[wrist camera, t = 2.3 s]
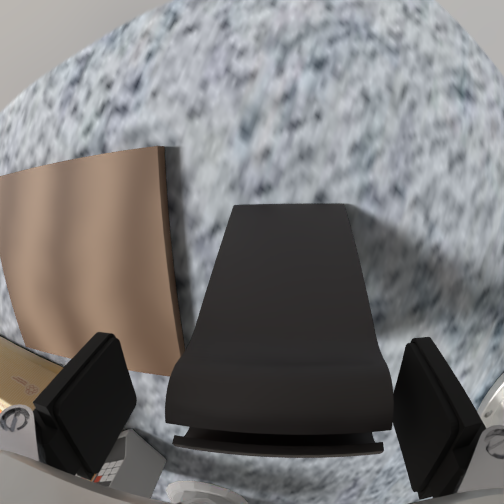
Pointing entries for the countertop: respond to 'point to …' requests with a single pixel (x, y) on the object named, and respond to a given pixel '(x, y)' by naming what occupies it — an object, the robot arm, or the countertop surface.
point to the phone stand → (283, 343)
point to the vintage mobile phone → (131, 466)
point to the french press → (201, 494)
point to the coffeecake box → (23, 376)
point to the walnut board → (93, 256)
